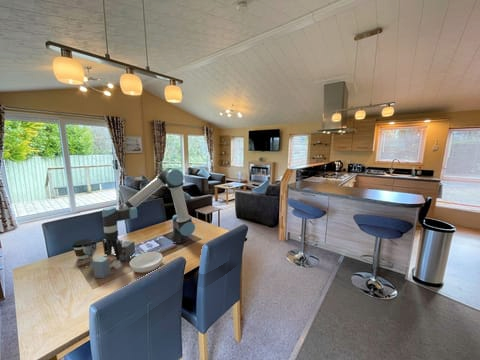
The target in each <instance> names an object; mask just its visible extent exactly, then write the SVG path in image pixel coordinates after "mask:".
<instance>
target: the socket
mask: <svg viewBox="0 0 480 360" xmlns="http://www.w3.org/2000/svg"><path fill="white" fill-rule="evenodd" d="M92 268H93V277H94V278H99V279H105V278H107V277H108V276H109V275H111V265H110V262H109V258H108V256H107V257H106V256H98V257H97V258H95V259H93V267H92Z"/></svg>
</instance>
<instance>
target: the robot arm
mask: <svg viewBox="0 0 480 360" xmlns="http://www.w3.org/2000/svg"><path fill="white" fill-rule="evenodd" d="M184 178H185V177H184V173H183V172H182V171H181V170H180V169H177V168H172V167H168V168H167V167H166V168H165V169H163V170H162V171H160V173H159V174H157V175H156V176H155V178H154V179H153V180H152V181H151V182H149V183H148V184H146V185H145V187H143V188H141V190H139V191H138V192H137V193H135V195H133V196H132V197H130V198H129V199H128V200H126V202H124V203H120V205H119V206H118V209H117V208H116V207H115V206H108V207H104V208H103V209H102V211H101V212H102V214H101V217H102V224H103V232H104V233H103V235H104V238H103V240H101V242H102V246H103V253H104V255H106V256H107V258H109V257H110V256H112V255H113V252H114V254H115V261H113V262H112V263H110V266H111V265H113V264H114V266H115V267H117V266H118V265H119V264H120V255H121V254H122V243H123V240H119V237H118V236H119V230H118V229H119V228H118V222H120V221H126V220H133V219H137V218H138V209H137V207H138V206H140V205H141V204H142V203H143V202H144V201H146V200H147V199H148V198H149V197H151V196H152V195H153V194H154V193H155V192H157V191H158V190H160V188H162V187H163V186H164V187H165V186H167V189H169V190H170V192H171V193H170V194H171V198H172V201H173V205H174V208H175V209H174V210H175V214H174V215H173V216H172V236H171V240H172V241H173V242H176V243H182V244H185V243H184V242H186V241H188V240H189V241H190V236H191V235H192V234H193V233H194V232H195V231H196V224H195V223H194V222H193V220H192V216H191V215H190V214H189V211H188V207H187V203H186V197H185V194H184V190H183V186H184ZM189 241H188V242H189ZM186 243H187V242H186ZM112 249H113V250H112ZM112 251H113V252H112Z"/></svg>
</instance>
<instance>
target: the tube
mask: <svg viewBox="0 0 480 360" xmlns="http://www.w3.org/2000/svg"><path fill="white" fill-rule="evenodd" d="M112 254H113V253H112ZM124 254H125V248H123V249H122V254H121V255H120V257H121V256H122V255H124ZM109 262H110V263H112V262H113V263H114V262H115V253H114V254H113V255H112V256H110V257H109ZM113 263H112V264H113Z"/></svg>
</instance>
